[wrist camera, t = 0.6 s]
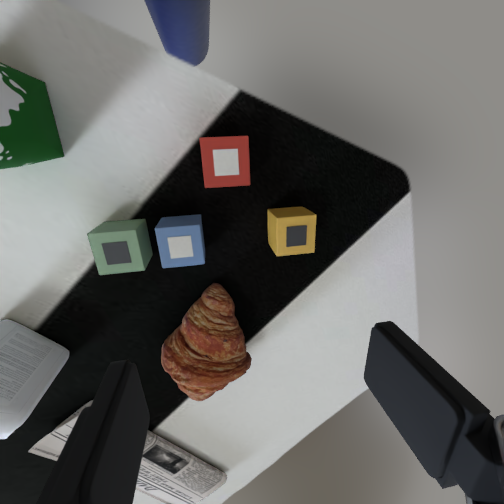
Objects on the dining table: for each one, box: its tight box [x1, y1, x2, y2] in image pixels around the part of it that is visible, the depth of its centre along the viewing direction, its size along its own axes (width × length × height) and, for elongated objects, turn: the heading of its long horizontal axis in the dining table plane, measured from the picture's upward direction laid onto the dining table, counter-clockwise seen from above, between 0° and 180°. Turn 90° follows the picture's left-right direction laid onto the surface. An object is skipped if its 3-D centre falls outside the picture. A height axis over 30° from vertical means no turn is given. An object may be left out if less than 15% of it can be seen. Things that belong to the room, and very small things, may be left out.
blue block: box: [155, 214, 205, 268], centre depth 32 cm, size 5×5×5 cm
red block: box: [200, 136, 250, 188], centre depth 29 cm, size 5×5×5 cm
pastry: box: [161, 283, 251, 401], centre depth 37 cm, size 17×15×8 cm
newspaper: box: [28, 400, 227, 504], centre depth 47 cm, size 35×12×4 cm, turn 37°
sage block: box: [87, 219, 153, 275], centre depth 31 cm, size 5×5×5 cm
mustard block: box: [268, 206, 316, 256], centre depth 34 cm, size 5×5×5 cm
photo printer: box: [0, 319, 69, 439], centre depth 31 cm, size 10×4×12 cm, turn 44°
